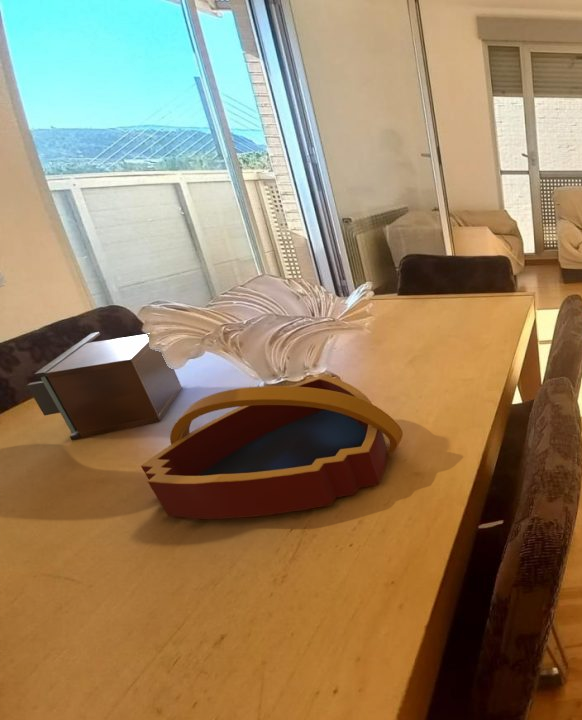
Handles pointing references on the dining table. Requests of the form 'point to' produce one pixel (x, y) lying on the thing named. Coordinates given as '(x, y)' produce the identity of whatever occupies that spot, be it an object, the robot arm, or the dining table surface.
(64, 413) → the grey sliding lid
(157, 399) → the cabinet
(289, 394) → the decorative basket
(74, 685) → the dining table surface
